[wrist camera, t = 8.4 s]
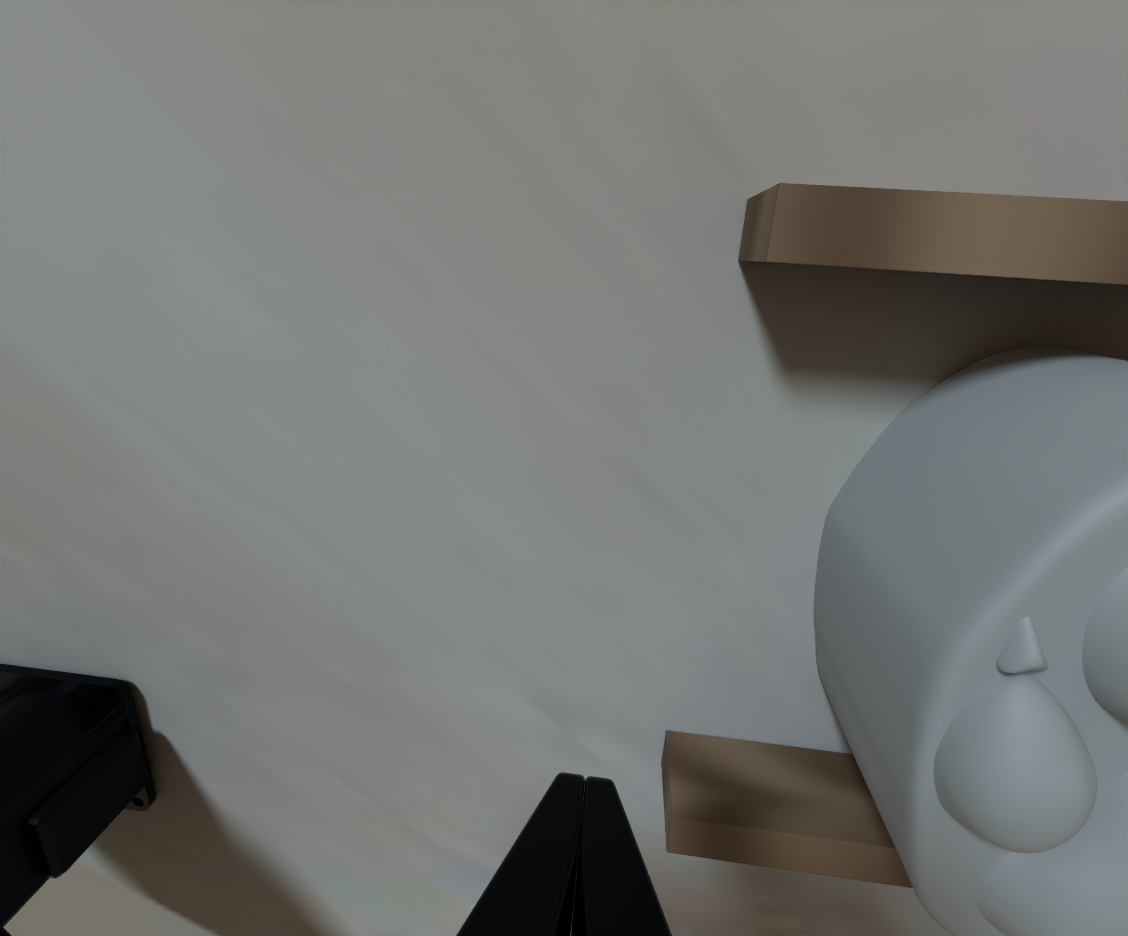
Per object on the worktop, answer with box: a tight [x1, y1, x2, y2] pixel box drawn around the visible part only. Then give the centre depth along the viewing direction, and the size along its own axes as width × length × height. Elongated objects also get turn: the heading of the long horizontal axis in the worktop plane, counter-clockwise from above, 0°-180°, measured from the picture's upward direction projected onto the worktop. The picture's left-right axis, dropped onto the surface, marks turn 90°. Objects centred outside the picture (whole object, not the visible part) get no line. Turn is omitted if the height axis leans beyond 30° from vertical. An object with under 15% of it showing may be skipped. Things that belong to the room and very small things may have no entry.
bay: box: [661, 183, 1128, 888], centre depth 16 cm, size 18×19×4 cm
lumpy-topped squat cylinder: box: [814, 346, 1128, 936], centre depth 14 cm, size 10×13×9 cm
